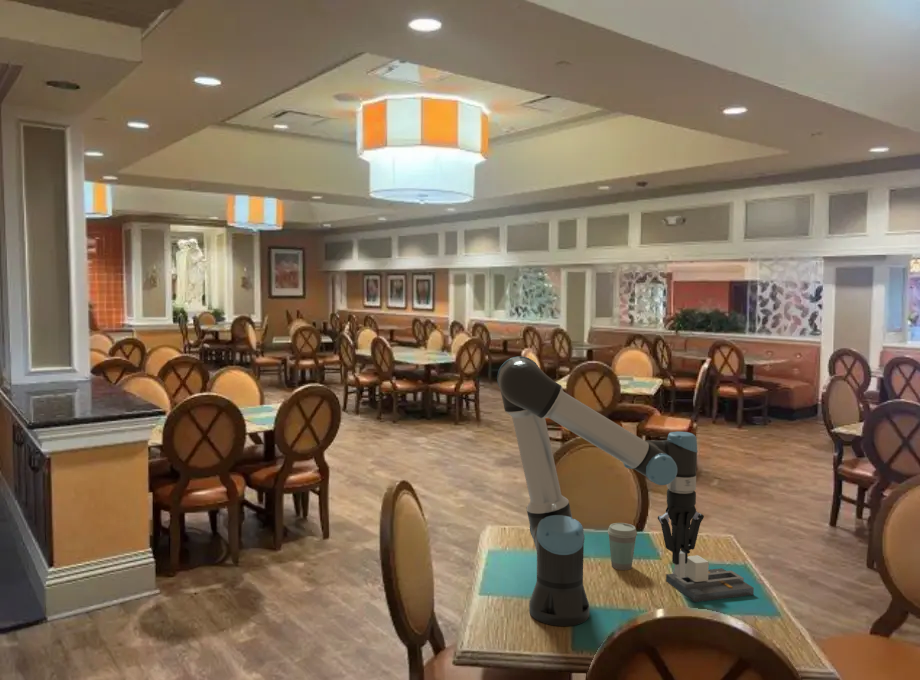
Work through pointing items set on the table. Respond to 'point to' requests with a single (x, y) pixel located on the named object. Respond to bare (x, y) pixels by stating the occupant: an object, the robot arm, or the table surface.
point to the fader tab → (696, 569)
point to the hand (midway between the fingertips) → (679, 575)
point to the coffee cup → (622, 545)
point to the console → (712, 586)
